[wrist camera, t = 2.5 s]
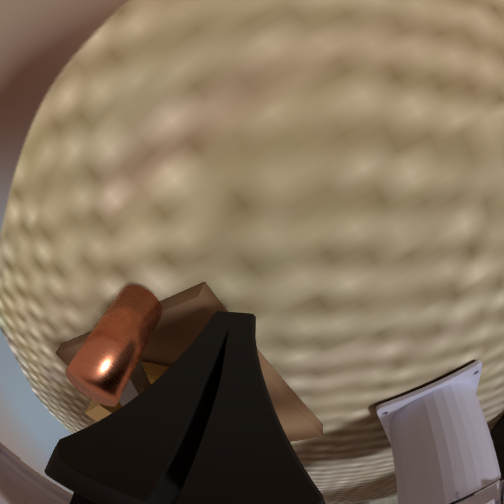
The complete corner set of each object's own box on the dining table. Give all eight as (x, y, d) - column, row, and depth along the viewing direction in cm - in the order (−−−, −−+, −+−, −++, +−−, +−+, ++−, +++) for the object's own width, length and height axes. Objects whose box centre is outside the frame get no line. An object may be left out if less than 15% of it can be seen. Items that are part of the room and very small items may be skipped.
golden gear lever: (256, 448, 17) (249, 499, 13) (135, 425, 18) (118, 468, 14) (261, 296, 10) (244, 406, 6) (53, 274, 11) (-3, 332, 7)
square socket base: (322, 423, 17) (323, 491, 12) (177, 440, 21) (163, 487, 16) (204, 281, 11) (158, 391, 7) (61, 343, 16) (25, 397, 11)
